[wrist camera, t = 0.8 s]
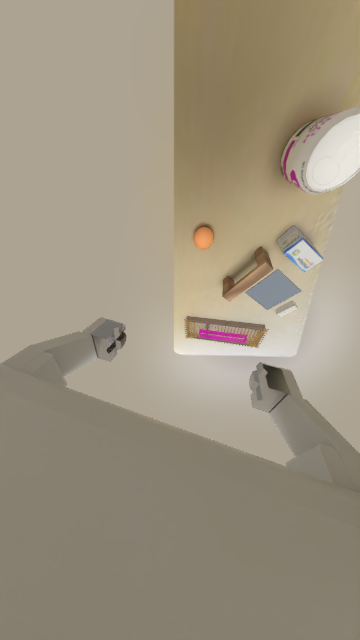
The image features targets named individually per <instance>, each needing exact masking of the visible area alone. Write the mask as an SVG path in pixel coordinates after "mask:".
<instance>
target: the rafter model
mask: <svg viewBox="0 0 360 640" xmlns="http://www.w3.org/2000/svg"><path fill="white" fill-rule="evenodd" d="M184 320H185V319H184ZM188 321H189V322H191V324H190V325H191V333H190V325H189V322H188ZM185 322H186V323H185V324H187V325H185V326H187V327H185V328H187V329H185V330H187V331H185V332H187V335H186V338H187V337H188V338H190V339H191V338H194V339H195V338H197V339H199V340H200V339H204V340H210V341H219V342H226V343H227V344H228V343H230V344H231V343H233V345H234V344H236V345H237V344H239V345H242V346H243V345H245V346H246V345H247V346H251V347H256V348H257V347H258V346H259V345H258V343H259V341H260V339H261V338H262V336H265V335H263V334H266V333H264V332H265V331H266V332H267V330H269V329H267V330H266V329H265V325H260V324H251V323H242V322H234V321H225V320H216V319H207V318H198V317H189V316H187V320H185ZM192 322H194V329H193V328H192ZM195 322H198V323H206V324H208V325H207V330H203V329H200V331H199V334H197V332H196V331H195ZM210 324H213V325H222V326H225V328H226V326H230V327H235V329H236V327H238V331H239V328H245V331H246V328H247V329H252V330H253V329H255V332H256V330H258V332H257V334H256V336H255V335H254V334H253V335H254V336H255V337H254V336H252V338H251V337H250V336H251V335H249V338H251V339H250V340H247V337H248V335H245V333H243V335H242V334H234V333H235V332H234V333H231V332H230V333H228V331H227V333H226V332H222V329H221V332H218V331H211V330H208V326H210ZM212 327H213V326H212ZM192 329H193V330H194V333H192ZM215 329H216V327H215ZM218 330H219V328H218ZM228 330H229V327H228ZM259 330H260V332H259ZM224 331H225V330H224ZM231 331H232V329H231ZM234 331H235V330H234ZM238 331H237V332H238ZM241 331H242V330H241ZM245 331H244V332H245ZM248 331H249V330H248ZM195 332H196V333H195ZM251 332H252V331H251ZM200 333H205V334H200ZM206 333H207V335H206ZM240 333H242V332H240ZM248 333H249V332H247V334H248ZM208 334H211V335H208ZM212 334H214V335H212ZM250 334H252V333H250ZM215 335H222V336H229V337H233V338H229V337H221V336H215ZM234 337H235V338H234ZM236 337H237V338H238V339H237V338H236ZM239 338H243V339H239ZM253 338H254V340H253V341H252V339H253ZM263 338H264V337H263ZM262 340H263V339H262ZM261 342H262V341H261ZM224 344H225V343H224ZM259 344H261V343H259Z"/></svg>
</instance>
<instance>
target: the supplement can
mask: <svg viewBox="0 0 360 640" xmlns="http://www.w3.org/2000/svg"><path fill="white" fill-rule="evenodd" d="M359 170H360V107H354V108H351V109H348V110H345V111H341V112H338V113H335V114H332V115H328V116H325V117H322V118H319V119H316V120H313V121H310V122H308V123H306V124H305V125H304V126H302V127H301V128H299V129H298V130H297V131H296V133H295V134H294V135H293V136H292V137H291V138H290V140H289V142H288V144H287V145H286V147H285V149H284V152H283V155H282V158H281V172H282V175H283V177H284V178H285V179H286V180H288V181H289V182H291V183H292V184H294V185H295V186H297V187H298V188H300V189H302V190H303V191H305V192H306V193H310V194H315V195H318V194H323V193H328V192H330V191H332V190H334V189H336V188H338V187H339V186H341V185H342V184H344V183H346V182H347V181H348V180H349V179H351V178H352V177H353V176H354V175H356V174H357V173H358V171H359Z"/></svg>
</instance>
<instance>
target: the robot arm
mask: <svg viewBox="0 0 360 640" xmlns="http://www.w3.org/2000/svg"><path fill="white" fill-rule="evenodd" d="M124 330H125V325H124V324H122V323H119V322H116V321H113V320H108V319H106V318H99V319H98V320H97V321H95V322H94V323H92V324H91V325H90V326H89V327H87V328H86V329H85V330H83V331H82V332H75V333H72V334H68V335H65V336H62V337H58V338H54V339H51V340H48V341H44V342H41V343H37V344H34V345H30V346H28V347H27V348H25V349H23V350H22V351H20V352H19V353H17V354H16V355H14V356H12V357H11V358H9V359H8V360H6V361H4V362H3V363H1V364H0V640H360V453H358V451H356V449H355V448H354V447H352V445H351V444H350V443H349V442H348V441H347V440H346V439H345V438H344V437H343V436H342V435H341V434H340V433H339V432H338V431H337V430H336V429H335V428H334V427H333V426H332V425H331V424H330V423H329V422H328V421H327V420H326V419H325V418H324V417H323V416H322V415H321V414H320V413H319V412H318V411H317V410H316V409H315V408H314V407H313V406H312V405H311V404H310V403H309V402H308V401H307V400H305V399H303V397H302V395H301V393H300V390H299V388H298V385H297V383H296V380H295V378H294V376H293V373H292V372H291V371H290V370H288V369H284V368H280V367H276V366H272V365H269V364H265V363H261V362H260V363H259V364H258V365H257V370H256V371H253V372H252V374H251V376H250V382H249V383H250V389H251V390H252V391H253V393H252V395H251V400H252V407H254V408H256V409H259V410H262V411H265V412H268V413H269V415H270V416H271V418H272V419H273V421H274V423H275V424H276V426H277V428H278V429H279V431H280V433H281V434H282V436H283V437H284V439H285V441H286V442H287V444H288V446H289V447H290V449H291V450H292V452H293V454H294V455H295V458H293V459H291V460H289V461H287V462H286V466H283V465H280V464H277V463H275V462H272V461H269V460H266V459H263V458H260V457H258V456H255V455H252V454H250V453H247V452H244V451H241V450H239V449H236V448H233V447H230V446H227V445H225V444H222V443H219V442H217V441H214V440H211V439H208V438H205V437H203V436H200V435H197V434H194V433H191V432H189V431H186V430H183V429H180V428H178V427H175V426H172V425H169V424H167V423H164V422H161V421H158V420H155V419H153V418H150V417H147V416H144V415H142V414H139V413H136V412H133V411H130V410H128V409H125V408H122V407H119V406H116V405H114V404H111V403H108V402H105V401H102V400H100V399H97V398H94V397H92V396H88V395H86V394H83V393H80V392H77V391H75V390H72V389H69V388H66V385H67V382H66V380H65V378H64V376H66V375H68V374H69V373H71V372H73V371H75V370H77V369H79V368H81V367H83V366H84V365H87V364H88V363H90V362H92V361H94V360H96V359H97V358H100V359H103V360H107V361H111V360H112V359H113V358H114V357H115V356H116V354H117V350H119V349H121V348H122V347H123V345H124V344H125V342H126V334H125V333H124Z"/></svg>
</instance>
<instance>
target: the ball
mask: <svg viewBox="0 0 360 640" xmlns="http://www.w3.org/2000/svg"><path fill="white" fill-rule="evenodd" d="M213 239H214V235H213V232H212V230H211V229H209V228H208V227H201V228H199V229H198V230H197V231H196V232H195V234H194V243H195V245H196V247H198V248H199V249H207V248H209V247H210V246H211V244H212V243H213Z"/></svg>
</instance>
